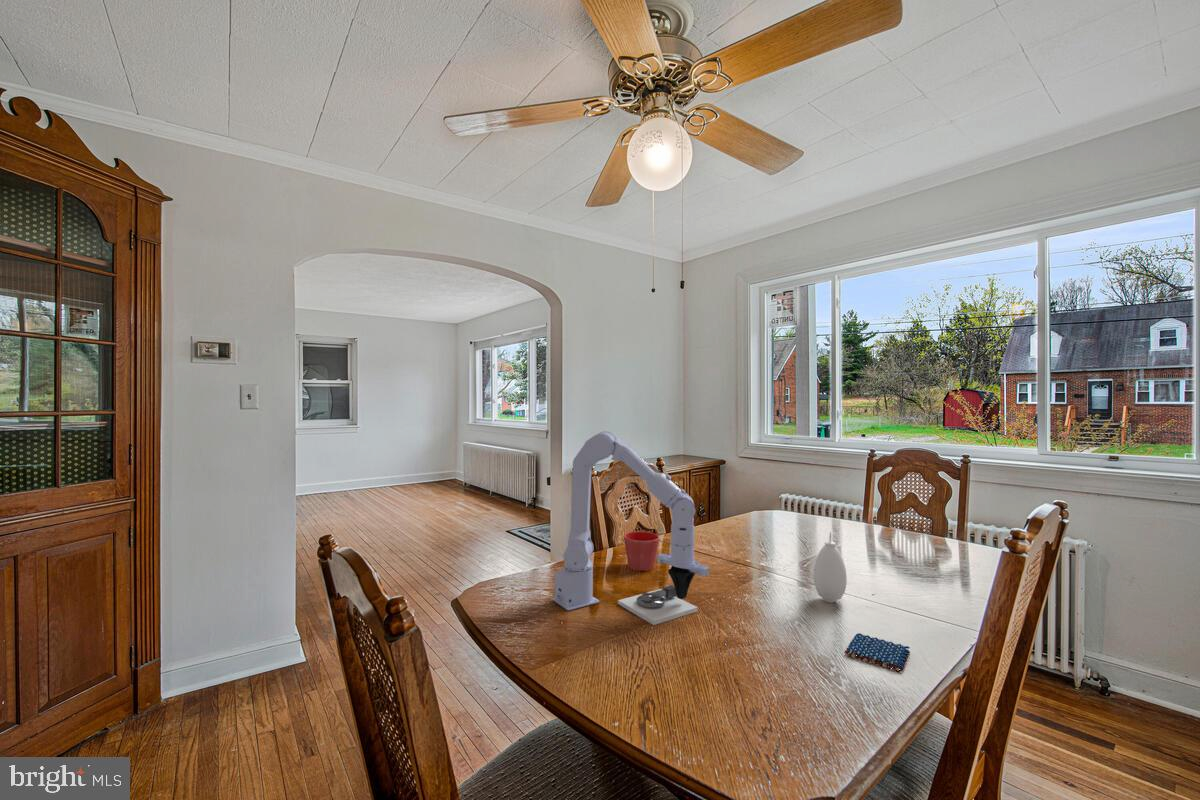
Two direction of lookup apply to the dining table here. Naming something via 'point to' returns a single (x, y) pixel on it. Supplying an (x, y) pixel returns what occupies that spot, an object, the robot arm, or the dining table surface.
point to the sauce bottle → (830, 573)
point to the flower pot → (641, 549)
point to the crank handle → (656, 597)
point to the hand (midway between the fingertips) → (681, 597)
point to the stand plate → (659, 609)
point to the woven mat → (878, 651)
